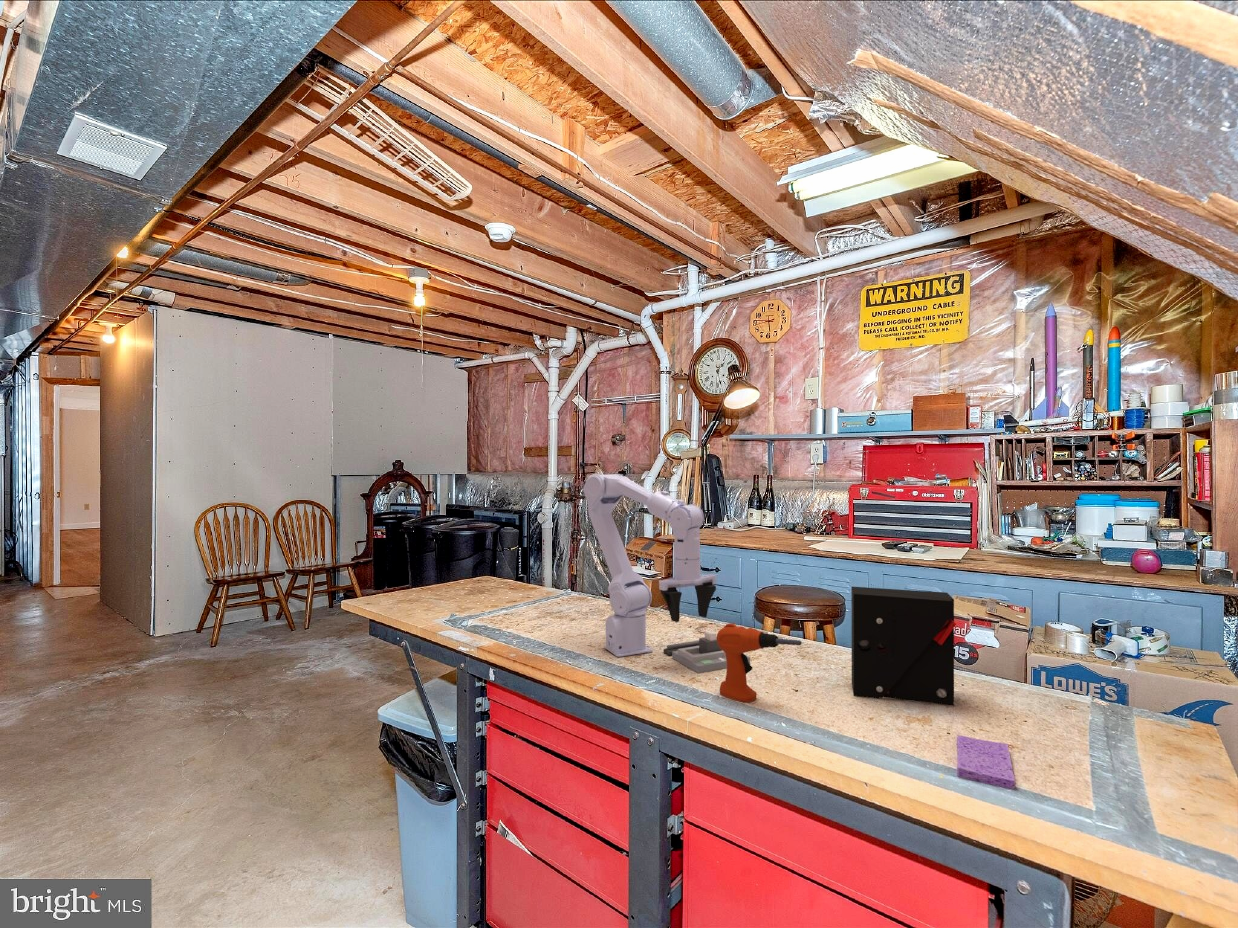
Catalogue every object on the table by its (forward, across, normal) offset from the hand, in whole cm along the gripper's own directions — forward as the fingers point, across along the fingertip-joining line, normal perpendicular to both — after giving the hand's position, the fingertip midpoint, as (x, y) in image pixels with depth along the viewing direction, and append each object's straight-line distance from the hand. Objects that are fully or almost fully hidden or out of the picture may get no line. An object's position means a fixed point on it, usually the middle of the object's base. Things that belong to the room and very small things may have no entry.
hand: (689, 618), depth 130 cm
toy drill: (+11, 0, -22) cm, 25 cm away
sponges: (+13, +14, -56) cm, 59 cm away
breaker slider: (+9, +6, 0) cm, 11 cm away
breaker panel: (+10, +6, 0) cm, 12 cm away
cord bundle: (+10, +6, +8) cm, 14 cm away
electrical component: (+12, +27, -33) cm, 44 cm away
